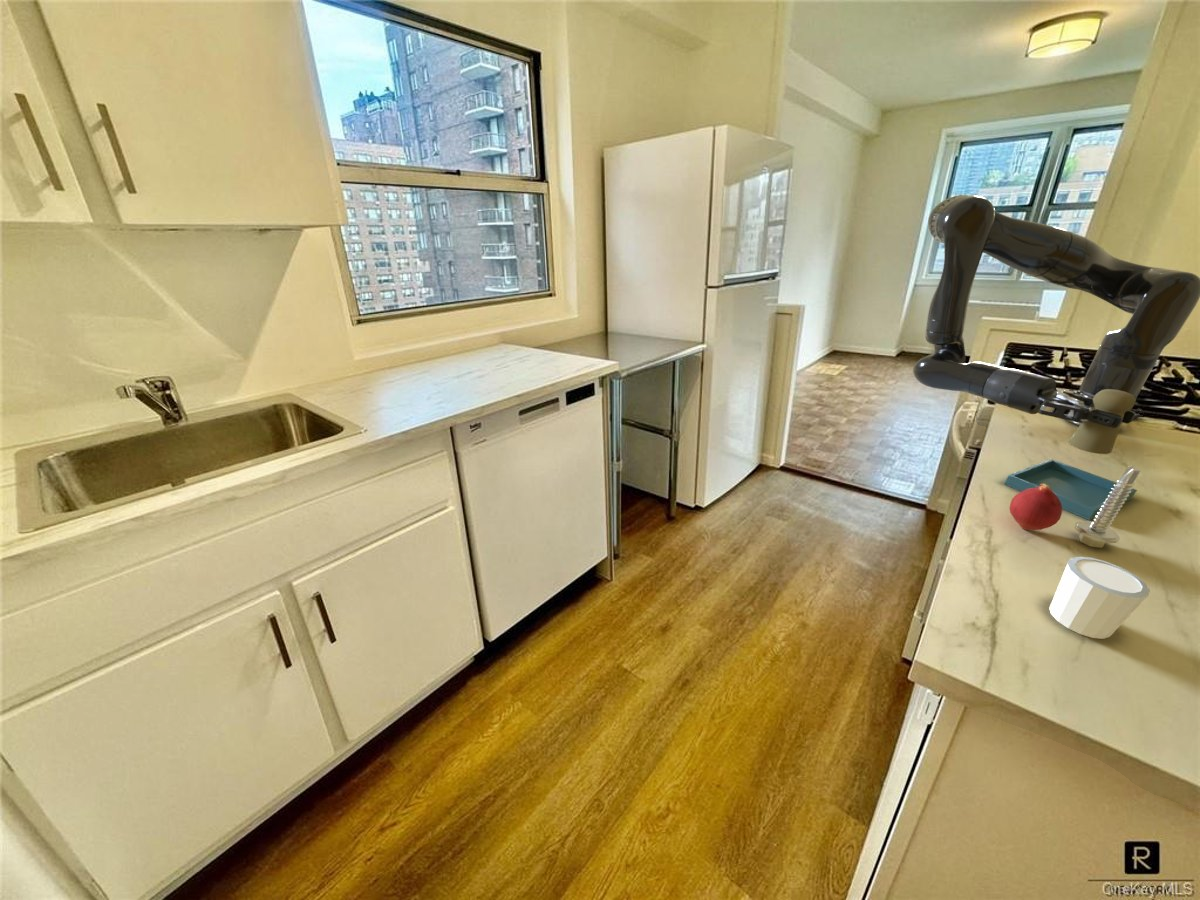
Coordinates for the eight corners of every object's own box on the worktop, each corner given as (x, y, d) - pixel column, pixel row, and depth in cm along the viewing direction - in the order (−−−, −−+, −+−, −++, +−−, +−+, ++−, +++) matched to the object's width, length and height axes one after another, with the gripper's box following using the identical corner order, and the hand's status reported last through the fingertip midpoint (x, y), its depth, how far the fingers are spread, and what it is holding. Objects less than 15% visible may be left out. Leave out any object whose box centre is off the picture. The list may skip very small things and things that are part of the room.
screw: (1102, 556, 68) (1061, 537, 72) (1119, 547, 70) (1079, 529, 74) (1150, 477, 62) (1103, 461, 66) (1168, 470, 64) (1121, 454, 68)
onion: (1039, 522, 76) (1062, 478, 72) (1057, 544, 71) (1082, 498, 67) (996, 515, 77) (1016, 472, 74) (1010, 536, 73) (1032, 490, 69)
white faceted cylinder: (1028, 600, 61) (1052, 557, 57) (1078, 597, 61) (1104, 554, 58) (1080, 645, 55) (1111, 599, 51) (1135, 641, 55) (1169, 595, 52)
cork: (1120, 455, 88) (1152, 399, 83) (1081, 452, 89) (1111, 396, 84) (1096, 440, 93) (1125, 387, 88) (1060, 438, 94) (1087, 384, 89)
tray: (1046, 467, 92) (1051, 458, 91) (1131, 499, 82) (1137, 489, 81) (1004, 484, 86) (1008, 475, 85) (1089, 520, 76) (1095, 510, 75)
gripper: (1005, 377, 95) (1117, 407, 81) (1044, 367, 100) (1156, 394, 87) (990, 412, 98) (1096, 447, 85) (1029, 401, 104) (1134, 432, 90)
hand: (1125, 420), depth 86 cm, fingers closed on cork, 4 cm apart
